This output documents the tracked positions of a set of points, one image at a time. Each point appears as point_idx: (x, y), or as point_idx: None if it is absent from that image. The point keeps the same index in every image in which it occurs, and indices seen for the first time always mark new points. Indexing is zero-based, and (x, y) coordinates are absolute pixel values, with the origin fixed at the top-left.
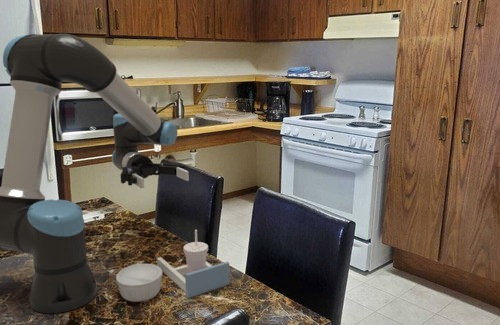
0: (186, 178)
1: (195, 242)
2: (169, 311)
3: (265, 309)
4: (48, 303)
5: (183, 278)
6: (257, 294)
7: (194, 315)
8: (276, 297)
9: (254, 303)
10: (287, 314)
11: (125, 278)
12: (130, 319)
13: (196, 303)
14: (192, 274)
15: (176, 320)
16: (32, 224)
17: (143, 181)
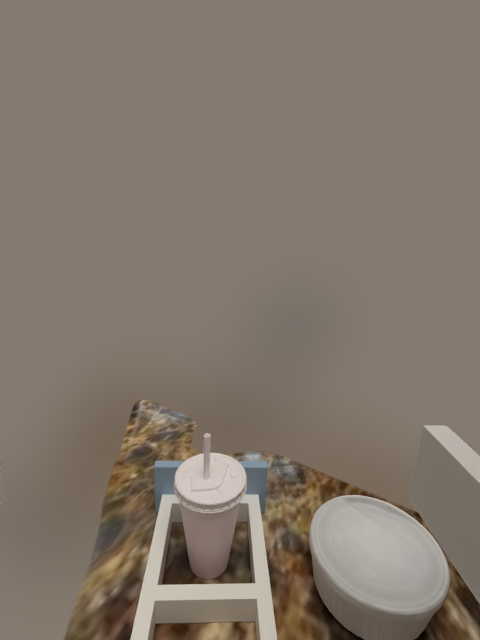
0: (1, 478)
1: (209, 468)
2: (310, 488)
3: (170, 429)
4: None
5: (255, 527)
6: (145, 457)
7: (272, 462)
8: (130, 440)
9: (171, 444)
10: (157, 413)
11: (415, 545)
12: (384, 501)
13: None
14: (253, 462)
15: (304, 465)
16: None
17: (421, 448)
